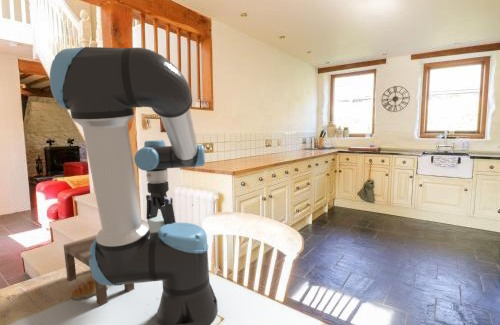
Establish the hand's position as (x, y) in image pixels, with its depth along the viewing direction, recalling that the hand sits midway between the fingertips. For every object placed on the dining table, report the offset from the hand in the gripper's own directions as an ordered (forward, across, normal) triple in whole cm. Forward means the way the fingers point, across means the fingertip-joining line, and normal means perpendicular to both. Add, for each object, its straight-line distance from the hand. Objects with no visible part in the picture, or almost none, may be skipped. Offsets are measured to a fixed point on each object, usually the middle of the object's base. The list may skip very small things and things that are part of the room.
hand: (161, 239), depth 104 cm
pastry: (+7, +3, -26) cm, 28 cm away
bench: (+7, 0, -23) cm, 24 cm away
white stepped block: (+6, 0, -9) cm, 10 cm away
